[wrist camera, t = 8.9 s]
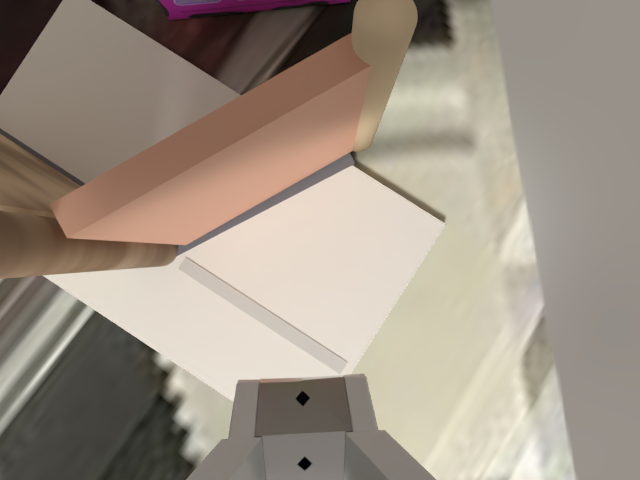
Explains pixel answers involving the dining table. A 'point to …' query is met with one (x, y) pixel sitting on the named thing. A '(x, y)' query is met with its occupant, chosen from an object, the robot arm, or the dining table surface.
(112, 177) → the swing panel
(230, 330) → the card
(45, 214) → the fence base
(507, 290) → the dining table surface
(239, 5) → the candy bar box
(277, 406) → the robot arm
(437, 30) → the dining table surface
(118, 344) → the dining table surface
